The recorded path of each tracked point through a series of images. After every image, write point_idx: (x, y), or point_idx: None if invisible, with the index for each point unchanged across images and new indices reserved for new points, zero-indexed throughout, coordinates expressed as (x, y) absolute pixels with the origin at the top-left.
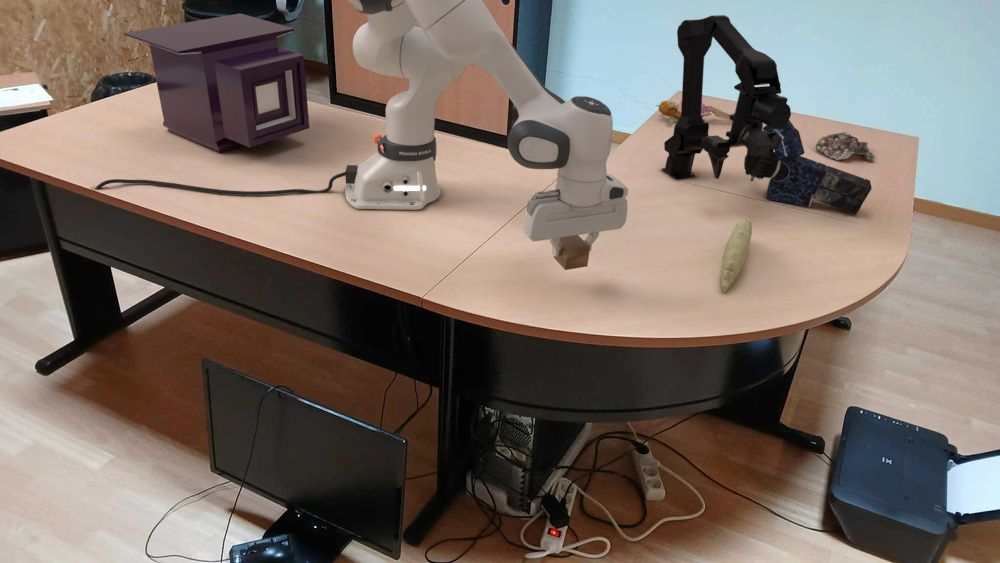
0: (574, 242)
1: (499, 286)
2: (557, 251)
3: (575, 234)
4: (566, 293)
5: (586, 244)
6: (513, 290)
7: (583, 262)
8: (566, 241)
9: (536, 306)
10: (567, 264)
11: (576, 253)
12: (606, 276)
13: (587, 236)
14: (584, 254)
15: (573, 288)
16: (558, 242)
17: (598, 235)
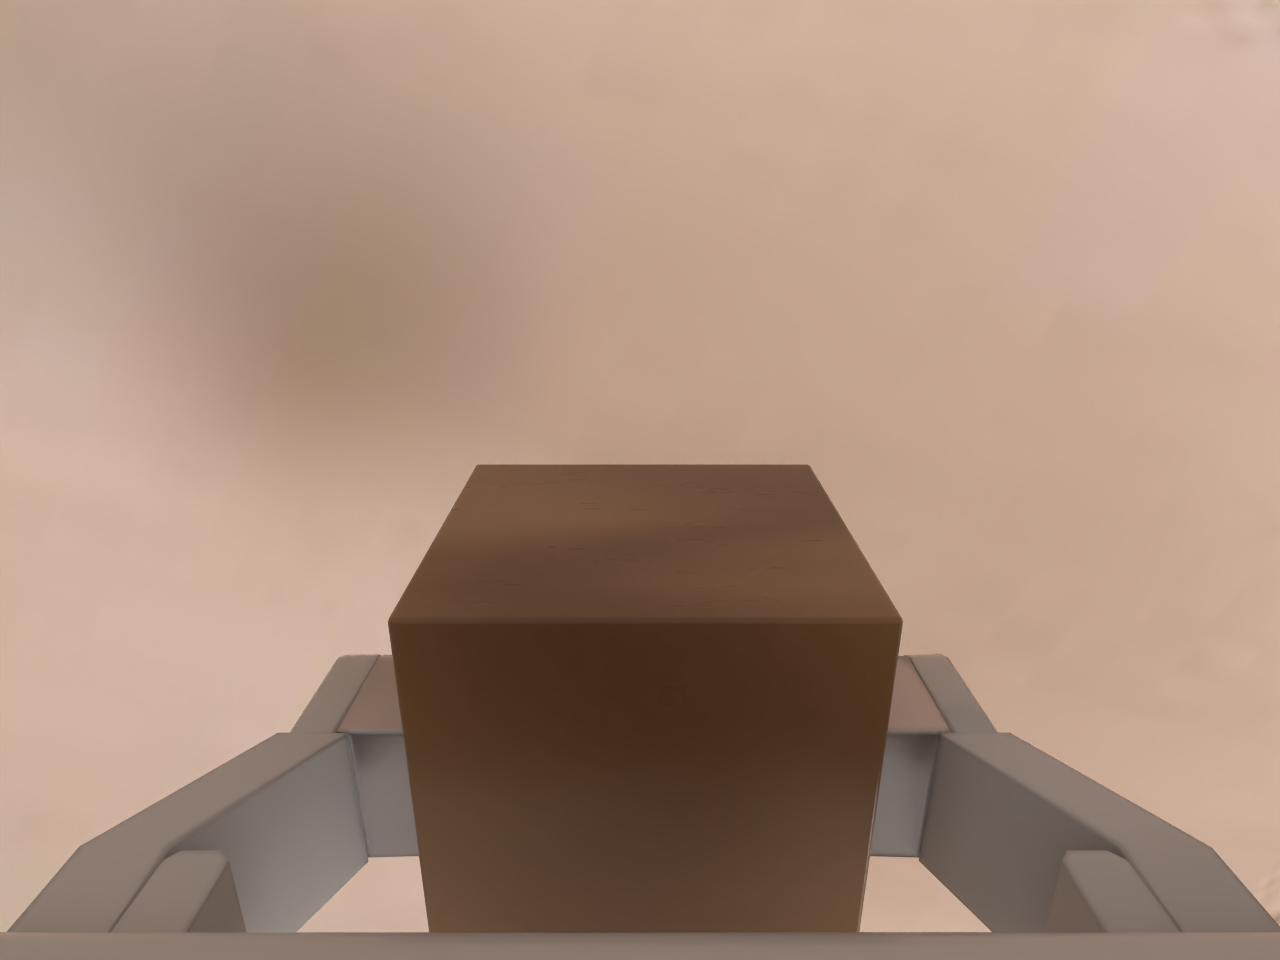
0: (615, 822)
1: (1174, 633)
2: (965, 705)
3: (748, 955)
4: (704, 384)
5: (424, 715)
6: (1108, 554)
7: (538, 490)
8: (739, 878)
9: (1080, 269)
10: (801, 495)
11: (687, 569)
12: (227, 525)
13: (303, 915)
14: (523, 548)
15: (603, 438)
16: (856, 892)
17: (75, 859)
